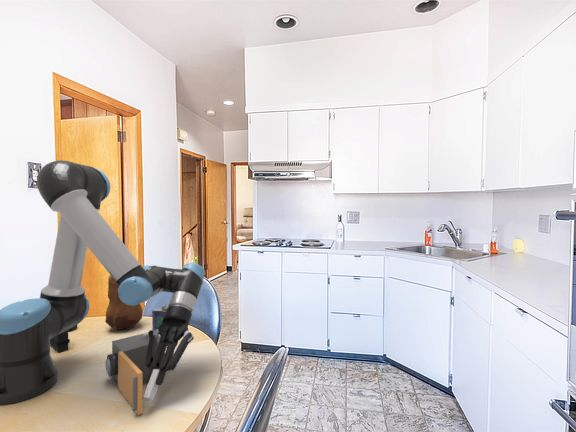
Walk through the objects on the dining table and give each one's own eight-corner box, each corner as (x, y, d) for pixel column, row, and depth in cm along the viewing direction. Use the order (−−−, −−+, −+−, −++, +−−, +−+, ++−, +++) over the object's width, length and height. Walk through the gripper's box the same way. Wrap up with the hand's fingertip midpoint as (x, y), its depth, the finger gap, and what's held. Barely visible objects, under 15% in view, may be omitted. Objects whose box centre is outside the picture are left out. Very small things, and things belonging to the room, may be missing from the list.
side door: (114, 389, 85) (114, 352, 85) (121, 386, 86) (122, 350, 86) (134, 416, 73) (134, 375, 73) (142, 413, 75) (142, 372, 75)
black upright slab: (59, 351, 105) (54, 307, 109) (50, 357, 113) (45, 316, 117) (72, 347, 108) (67, 305, 112) (62, 353, 115) (57, 313, 120)
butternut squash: (131, 320, 140) (131, 265, 140) (148, 326, 133) (148, 268, 132) (99, 329, 129) (99, 270, 128) (115, 337, 121) (115, 273, 121)
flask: (150, 333, 125) (150, 305, 125) (155, 330, 128) (156, 303, 128) (172, 336, 123) (172, 307, 122) (176, 333, 126) (177, 305, 126)
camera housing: (111, 391, 84) (112, 351, 84) (102, 376, 92) (102, 340, 92) (164, 372, 94) (164, 337, 94) (152, 361, 102) (152, 328, 102)
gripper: (204, 317, 94) (178, 405, 78) (163, 315, 96) (130, 401, 79) (197, 305, 89) (167, 396, 72) (154, 303, 90) (116, 392, 74)
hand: (148, 398), depth 76 cm, fingers closed
